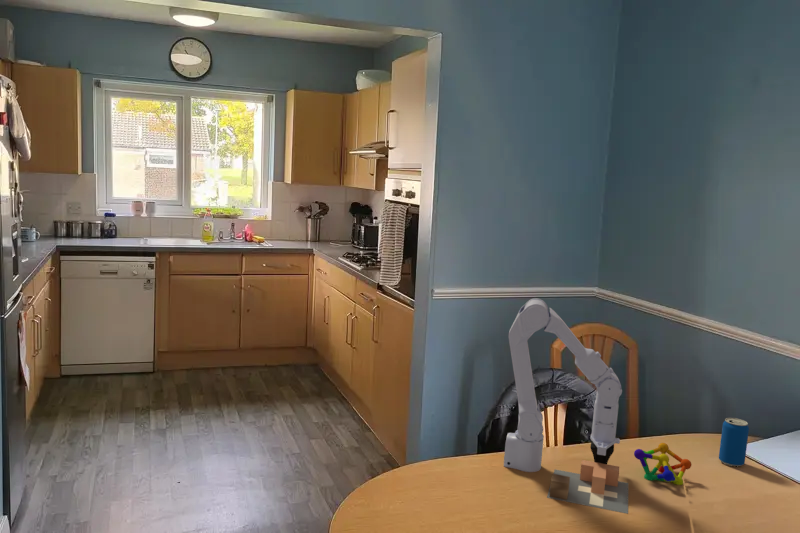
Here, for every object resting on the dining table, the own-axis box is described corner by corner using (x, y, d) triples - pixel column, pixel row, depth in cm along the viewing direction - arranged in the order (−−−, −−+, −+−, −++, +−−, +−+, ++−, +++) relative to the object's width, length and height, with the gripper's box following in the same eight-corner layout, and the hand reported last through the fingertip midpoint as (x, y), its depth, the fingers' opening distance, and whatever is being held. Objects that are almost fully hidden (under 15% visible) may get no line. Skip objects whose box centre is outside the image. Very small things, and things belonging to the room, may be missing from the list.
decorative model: (705, 469, 172) (672, 466, 163) (688, 498, 174) (655, 496, 165) (664, 439, 182) (632, 434, 173) (649, 467, 184) (616, 463, 175)
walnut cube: (549, 496, 159) (550, 480, 158) (551, 489, 162) (552, 473, 162) (566, 500, 157) (568, 483, 157) (568, 492, 161) (569, 476, 161)
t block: (580, 474, 172) (582, 459, 171) (617, 481, 169) (619, 466, 168) (577, 489, 163) (579, 473, 163) (617, 497, 160) (618, 481, 160)
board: (546, 501, 158) (546, 497, 158) (554, 473, 174) (554, 469, 174) (627, 517, 153) (628, 513, 152) (628, 486, 169) (628, 483, 168)
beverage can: (720, 456, 192) (725, 415, 190) (746, 462, 188) (751, 421, 187) (716, 463, 187) (721, 421, 185) (741, 470, 183) (747, 427, 181)
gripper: (621, 432, 162) (615, 486, 164) (621, 414, 176) (616, 464, 177) (590, 427, 164) (585, 481, 166) (593, 409, 178) (588, 459, 180)
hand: (599, 472), depth 172 cm, fingers closed
